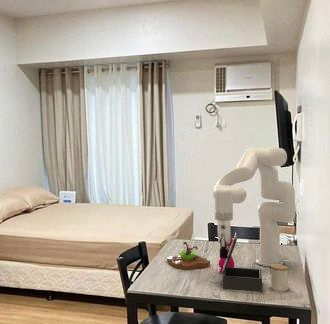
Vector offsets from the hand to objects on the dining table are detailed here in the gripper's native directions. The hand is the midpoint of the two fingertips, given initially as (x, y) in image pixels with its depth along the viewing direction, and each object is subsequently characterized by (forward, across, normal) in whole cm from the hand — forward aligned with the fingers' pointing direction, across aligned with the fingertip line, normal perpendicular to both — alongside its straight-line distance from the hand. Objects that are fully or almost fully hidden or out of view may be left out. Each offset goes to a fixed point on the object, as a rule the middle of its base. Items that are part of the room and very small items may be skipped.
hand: (223, 257), depth 210 cm
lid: (-2, 0, -3) cm, 4 cm away
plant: (+12, +31, +19) cm, 38 cm away
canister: (+12, 0, -23) cm, 26 cm away
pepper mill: (+12, +19, 0) cm, 23 cm away
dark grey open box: (+12, 0, -8) cm, 15 cm away
